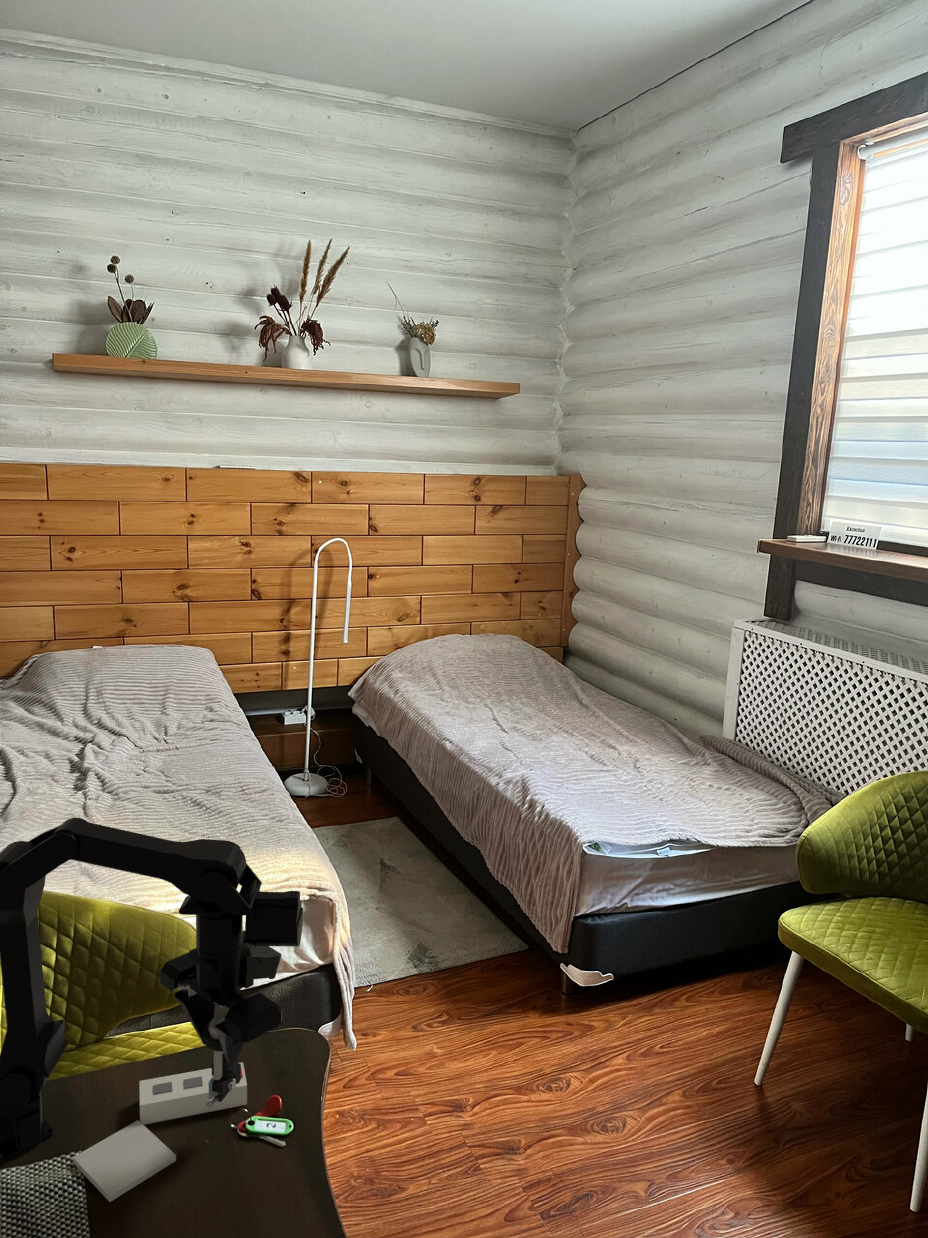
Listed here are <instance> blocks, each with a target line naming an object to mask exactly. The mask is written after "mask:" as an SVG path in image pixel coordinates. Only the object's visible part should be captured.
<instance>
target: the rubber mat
mask: <svg viewBox="0 0 928 1238" xmlns="http://www.w3.org/2000/svg"><path fill="white" fill-rule="evenodd" d="M176 1161H177V1155H176V1153H174V1152H173V1151H172V1150H171V1149H170V1148H169V1147H168V1145H165V1143H163V1142H162V1141H161V1140H160V1139H159V1138H158V1137H157V1136H156V1135H155V1134H154V1133H153V1132H152V1131H151V1130H149V1128H147V1127H146V1126H145V1124H144V1125H143V1124H142V1123H141V1122H140V1119H139V1120H138V1119H137V1120H136V1121H134V1122H132V1123H131V1124H128V1125H127V1126H125V1127H124V1128H121V1129H120V1130H118V1131H116V1132H115V1133H113V1134H111V1135H109V1136H107V1137H106V1138H104V1139H102V1140H101V1141H99V1142H97V1143H95V1144H93V1145H91V1146H90V1147H89V1148H87V1149H85V1150H84V1151H82V1152H79V1153H77V1154H76V1155H74V1156H72V1163H73V1164H74V1166H75V1167H76V1168H77V1169H78V1170H79V1171H80V1172H81V1173H82V1174H83V1175H84V1176H85V1177H86V1178H87V1180H88V1181H89V1182H90V1183H91V1184H93V1186H94V1187H95V1188H96V1189H97V1191H99V1192H100V1193H101V1195H102V1196H103V1197H104V1198H105V1199H106V1200H107V1201H108V1203H111V1202H112V1201H114V1200H115V1199H117V1198H119V1197H121V1196H122V1195H123V1194H125V1193H127V1192H128V1191H130V1190H133V1188H135V1187H136V1186H138V1185H139V1184H141V1183H143V1182H144V1181H146V1180H148V1179H149V1178H151V1177H153V1176H154V1175H156V1174H157V1173H158V1172H160V1171H162V1170H164V1169H165V1168H167V1167H168V1166H170V1165H171V1164H173V1163H175V1162H176Z"/></svg>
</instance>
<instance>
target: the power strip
mask: <svg viewBox="0 0 928 1238" xmlns="http://www.w3.org/2000/svg"><path fill="white" fill-rule="evenodd" d="M238 1063H239V1064H241V1080H240V1082H239V1083H238V1084H236V1089H235V1091H234V1092H233V1093H231V1090H230V1091H229V1092H228V1094H227V1095H226V1096H225V1098H224V1099H223V1100H222V1102H218V1101H217V1102H215V1103H214V1104H213V1106H212V1107H211V1108H210V1107H206V1104H207V1103H208V1102H209V1101H207V1100H206V1098H207V1097H208V1096H209V1087H208V1084H209V1081H210V1080H211V1079H212V1078H213V1075H211V1074H212V1067H209V1068H204V1069H199V1070H195V1071H194V1070H193V1071H187V1072H182V1073H177V1074H171V1075H165V1076H160V1077H154V1078H148V1079H143V1080H139V1121H140V1122H141V1123H142V1124H143V1125H144V1126H145V1125H149V1124H154V1123H158V1122H164V1121H170V1120H175V1119H180V1118H185V1117H190V1116H195V1115H201V1114H205V1113H210V1112H216V1111H221V1110H226V1109H232V1108H237V1107H241V1106H246V1105H247V1106H248V1083H247V1077H246V1073H245V1072H246V1071H245V1066H244V1065H245V1064H244V1062H238ZM233 1089H234V1087H233ZM209 1105H211V1103H210V1104H209Z"/></svg>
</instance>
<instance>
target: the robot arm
mask: <svg viewBox="0 0 928 1238" xmlns="http://www.w3.org/2000/svg"><path fill="white" fill-rule="evenodd" d="M69 861H75V862H76V861H77V862H80V863H85V864H89V865H93V866H98V867H99V866H100V867H104V868H106V869H107V868H109V869H112V870H118V871H121V872H126V873H131V874H136V875H140V876H146V877H148V878H153V879H159V880H162V881H165V882H168V883H170V884H172V885H173V886H174V887H175V888H176V889H178V891H180V892H181V893H183V894H184V895H186V896H185V897H184V899H183V901H182V903H181V905H180V907H179V908H178V914H179V915H189V916H191V915H192V916H195V948H193V949H191V950H189V951H188V952H186V953H183V954H181V955H179V956H177V957H175V958H172V959H170V960H168V961H165V963H164V964H163V966H162V968H161V969H160V971H159V972H160V975H159V976H160V980H159V981H160V984H161V985H162V986H164V988H166V989H167V990H169V991H170V992H173V991H175V990H176V989H179V990H177V991H175V993H174V994H173V997H174V999H175V1000H176V1001H177V1002H178V1004H179V1006H180V1007H181V1008H182V1010H183V1012H184V1013H185V1015H186V1017H187V1018H188V1021H189V1022H190V1023H191V1026H192V1027H193V1029H194V1031H195V1032H196V1034H197V1036H198V1038H199V1039H200V1042H201V1043H202V1044H203V1045H204V1046H206V1044H205V1039H204V1038H203V1028H204V1026H205V1025H206V1024H207V1023H208V1022H210V1021H211V1020H212V1019H213V1018H214V1017H215V1010H216V1009H215V1008H216V1006H217V1007H218V1008H220V1009H223V1008H225V1007H227V1009H228V1011H227V1012H226V1013H225V1014H226V1016H225V1021H223V1022H221V1023H219V1024H217V1025H215V1028H216V1031H217V1034H218V1037H219V1040H220V1043H221V1046H222V1049H223V1051H224V1054H225V1057H226V1059H227V1062H228V1063H229V1064H232V1063H234V1062H235V1063H236V1062H237V1061H238V1059H239V1056H240V1053H241V1050H242V1048H243V1045H244V1043H249V1042H251V1041H253V1040H255V1039H256V1038H259V1037H260V1036H262V1035H264V1034H267V1033H268V1032H270V1031H271V1030H273V1029H275V1028H277V1027H278V1026H280V1025H282V1021H283V1006H281V1005H280V1003H279V1004H278V1003H277V1002H276V1001H274V1000H272V999H271V998H270V997H268V996H267V995H264V994H263V993H262V992H258V993H255V994H254V995H246V994H244V993H243V992H241V991H242V990H241V989H248V988H251V987H252V986H254V985H255V984H254V983H255V982H254V980H263V979H268V980H274V979H276V976H277V973H278V970H279V965H280V961H281V960H282V954H281V952H279V950H278V951H277V950H276V949H274V948H273V947H294V948H295V947H296V948H297V947H300V944H301V940H302V935H303V934H302V933H303V922H304V907H302V904H303V903H302V899H301V892H300V891H299V890H288V891H287V890H286V891H261V887H262V884H263V883H262V881H261V879H260V878H259V877H258V875H257V874H256V873H255V872H254V871H253V869H252V868H251V867H250V866H249V864H248V863H247V858H246V855H245V853H244V851H243V850H242V849H241V846H240V845H239V844H238V843H236V842H234V841H231V840H227V839H224V840H223V839H211V838H210V839H209V838H200V839H195V840H189V841H188V840H187V841H174V840H170V839H165V838H162V837H156V836H153V835H148V834H142V833H139V832H134V831H130V830H126V829H121V828H116V827H111V826H107V825H101V824H97V823H93V822H88V821H87V820H86V819H84V818H81V817H72V818H68V819H66V820H65V821H63V823H61V824H59V825H58V826H55V827H53V828H51V829H48V830H46V831H44V832H42V833H40V834H38V835H37V836H35V837H33V838H31V839H30V840H29V841H26V840H18V841H13V842H12V843H8V845H6V847H4V848H3V849H2V850H1V851H0V970H1V971H0V972H1V982H2V992H3V1001H4V1012H5V1020H6V1021H5V1022H6V1030H5V1031H6V1032H5V1036H4V1039H3V1043H2V1045H1V1049H0V1157H1V1159H2V1160H4V1161H5V1160H8V1159H10V1158H12V1157H14V1156H16V1155H18V1154H20V1153H21V1152H23V1151H25V1150H27V1149H29V1148H31V1147H32V1146H34V1145H35V1146H36V1144H38V1143H40V1142H42V1141H43V1140H46V1139H47V1138H49V1137H50V1136H53V1135H54V1133H55V1129H54V1128H53V1126H52V1125H50V1124H49V1123H48V1122H47V1121H46V1120H45V1118H44V1117H43V1105H42V1102H43V1101H42V1090H43V1088H44V1086H45V1085H46V1083H47V1081H48V1079H49V1078H50V1077H51V1074H52V1073H53V1071H54V1070H55V1067H56V1066H57V1064H58V1062H59V1061H60V1060H61V1057H62V1055H63V1054H64V1052H65V1051H66V1049H67V1047H68V1045H69V1042H68V1041H67V1039H66V1036H65V1028H66V1021H65V1019H57V1020H54V1019H53V1018H52V1017H51V1016H50V1014H49V1013H48V1010H47V1003H46V1002H47V1001H46V992H45V982H44V970H43V969H44V968H43V959H42V948H41V937H40V927H39V906H40V903H41V899H42V896H43V893H44V889H45V885H46V876H47V875H49V874H50V873H51V872H53V871H54V870H56V869H57V868H59V867H60V866H62V865H63V864H65V863H66V862H69ZM239 886H241V887H240V890H237V889H238V887H239ZM243 916H245V923H244V922H243V919H244V917H243ZM243 923H244V925H243ZM243 926H244V927H243ZM243 928H244V929H243Z"/></svg>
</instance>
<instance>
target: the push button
mask: <svg viewBox="0 0 928 1238" xmlns="http://www.w3.org/2000/svg"><path fill="white" fill-rule="evenodd" d="M226 1014H227V1013H223V1014H222V1013H221V1014H219V1015H216V1016H214V1018H213V1019H212V1020H211V1021H210V1022H208V1023H207V1024H206V1025H205V1026H204V1028H203V1038H204V1039H205V1044H206V1045H205V1046H206V1047H207V1048H208V1049H211V1050H212V1051H213V1063H212V1064H211V1068H212V1074H211V1075H213V1078H212V1079H211V1080H210V1081H209V1084H208V1087H209V1096H208V1097H207V1098H206V1100H207V1101H209V1102H208V1103H207V1104H206V1107H210V1108H211V1107H212V1106H213V1104H214V1103H215V1102H217V1101H218V1102H222V1100H223V1099H224V1098H225V1096H226V1095H227V1094H228V1092H229V1091H230V1090H231V1093H233V1092H234V1091H235V1089H236V1084H238V1083H239V1082H240V1080H241V1064H239V1063H240V1062H236V1061H235V1062H234V1063H232V1064H229V1063H228V1062H227V1059H226V1057H225V1054H224V1051H223V1049H222V1046H221V1043H220V1040H219V1037H218V1034H217V1031H216V1028H215V1025H217V1024H219V1023H221V1022H223V1021H225V1016H226ZM233 1087H234V1089H233ZM210 1103H211V1105H209V1104H210Z"/></svg>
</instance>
